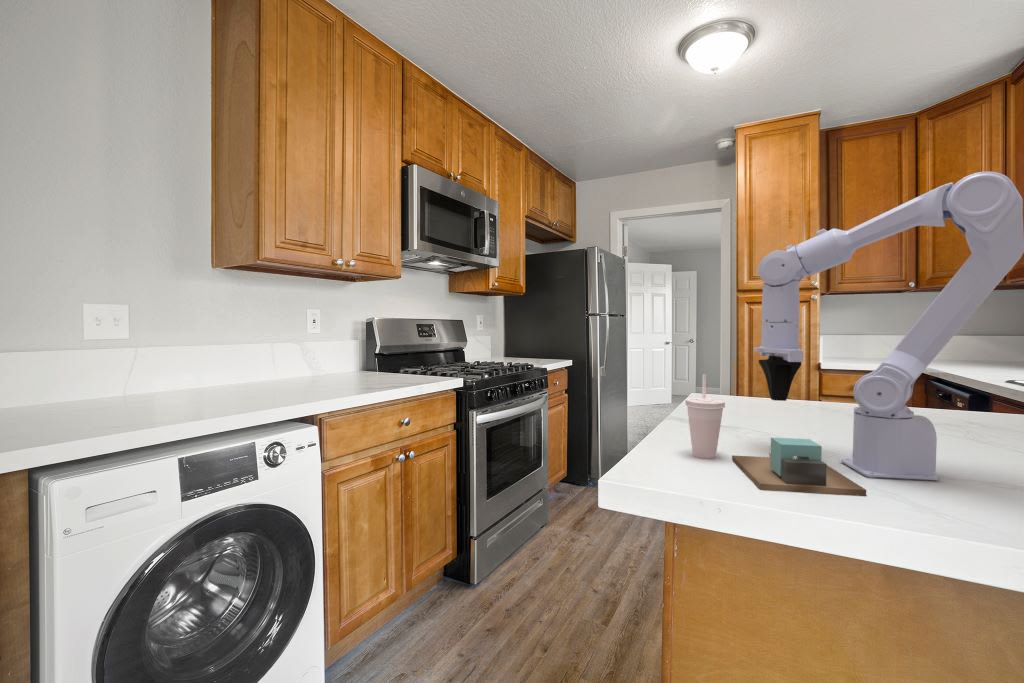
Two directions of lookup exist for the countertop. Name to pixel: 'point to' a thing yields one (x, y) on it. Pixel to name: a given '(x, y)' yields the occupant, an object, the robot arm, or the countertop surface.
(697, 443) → the smoothie
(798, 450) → the block
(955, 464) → the countertop surface
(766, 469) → the rail board
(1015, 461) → the countertop surface
